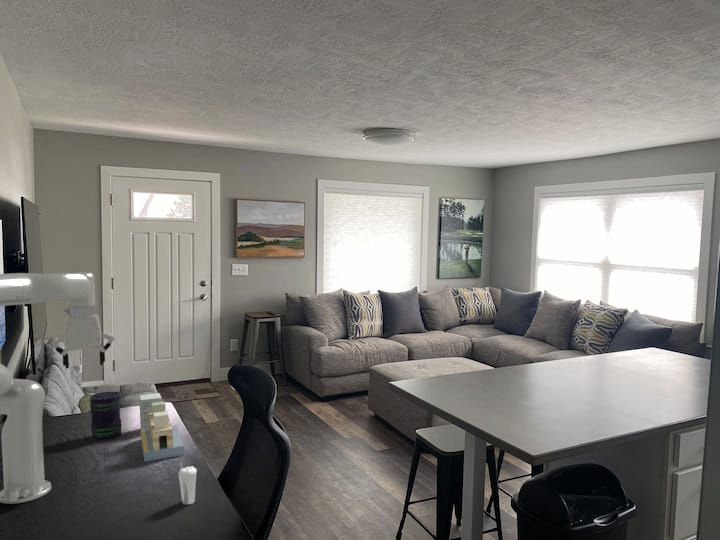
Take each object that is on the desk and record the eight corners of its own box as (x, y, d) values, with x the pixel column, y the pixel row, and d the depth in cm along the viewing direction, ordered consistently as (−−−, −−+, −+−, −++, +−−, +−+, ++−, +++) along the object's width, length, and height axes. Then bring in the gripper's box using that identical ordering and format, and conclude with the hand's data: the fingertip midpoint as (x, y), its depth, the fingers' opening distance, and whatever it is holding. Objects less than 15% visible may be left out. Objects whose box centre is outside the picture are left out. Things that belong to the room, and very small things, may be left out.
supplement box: (140, 428, 202) (138, 395, 202) (161, 425, 206) (160, 392, 205) (141, 434, 196) (140, 400, 195) (163, 431, 199) (161, 397, 198)
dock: (184, 455, 176) (183, 445, 176) (144, 461, 171) (143, 452, 171) (176, 433, 196) (176, 425, 196) (141, 439, 191) (140, 430, 191)
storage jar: (123, 430, 201) (121, 382, 200) (120, 439, 191) (118, 388, 190) (93, 433, 198) (91, 384, 197) (89, 443, 188) (86, 391, 187)
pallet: (173, 447, 174) (172, 429, 174) (153, 451, 172) (152, 432, 171) (167, 427, 194) (166, 410, 194) (149, 429, 192) (148, 413, 191)
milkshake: (189, 495, 147) (188, 459, 146) (201, 501, 144) (199, 463, 143) (174, 501, 143) (173, 464, 143) (185, 507, 140) (184, 469, 140)
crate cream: (168, 427, 176) (168, 414, 175) (154, 429, 174) (154, 416, 174) (167, 423, 179) (166, 411, 179) (153, 425, 178) (153, 412, 178)
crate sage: (165, 416, 187) (165, 404, 187) (152, 418, 186) (152, 405, 185) (164, 412, 191) (164, 401, 191) (151, 414, 189) (151, 402, 189)
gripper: (49, 315, 163) (51, 371, 164) (112, 311, 170) (114, 365, 171) (51, 312, 170) (54, 366, 171) (112, 308, 177) (114, 360, 178)
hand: (84, 366), depth 171 cm, fingers open, 9 cm apart
